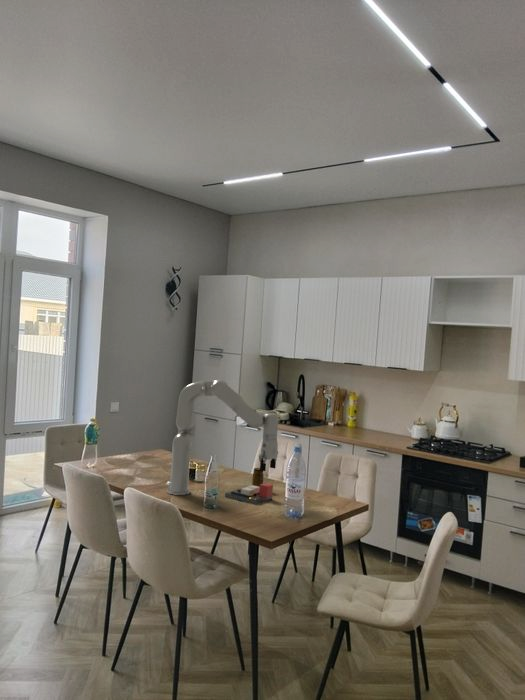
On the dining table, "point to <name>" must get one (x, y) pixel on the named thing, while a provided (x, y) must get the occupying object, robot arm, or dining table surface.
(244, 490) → the breaker
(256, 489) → the breaker
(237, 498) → the panel
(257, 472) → the condiment
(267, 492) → the cap
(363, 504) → the dining table surface
